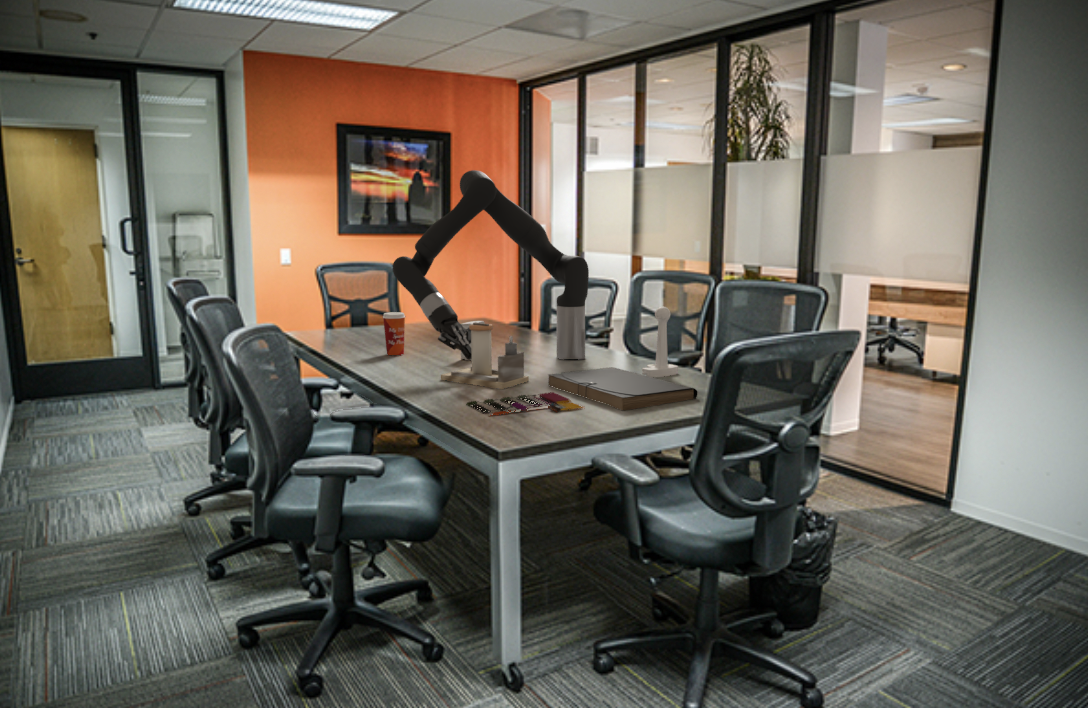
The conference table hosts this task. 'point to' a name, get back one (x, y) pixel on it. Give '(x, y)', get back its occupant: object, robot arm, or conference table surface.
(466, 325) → the ink box
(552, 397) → the colourful patterned flat panel
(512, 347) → the potentiometer
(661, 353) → the joystick
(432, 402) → the conference table surface
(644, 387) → the brown book
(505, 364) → the maple mount
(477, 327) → the lidded white jar
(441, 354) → the conference table surface
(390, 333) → the paper cup
